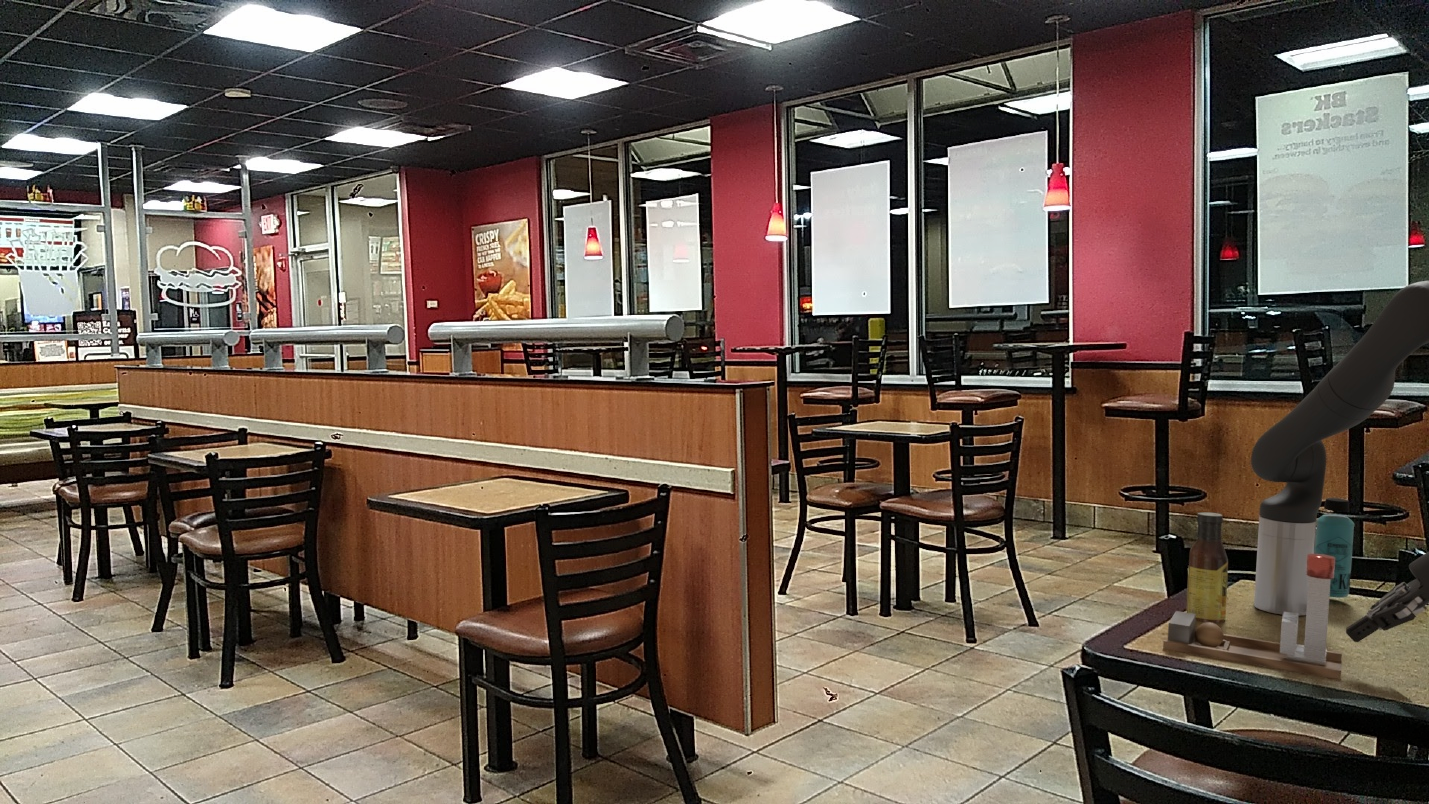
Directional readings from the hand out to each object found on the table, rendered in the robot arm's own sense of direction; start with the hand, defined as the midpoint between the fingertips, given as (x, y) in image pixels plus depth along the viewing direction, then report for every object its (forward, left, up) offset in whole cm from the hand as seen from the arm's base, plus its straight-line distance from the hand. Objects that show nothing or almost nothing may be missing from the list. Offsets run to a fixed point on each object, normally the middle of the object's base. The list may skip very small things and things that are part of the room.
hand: (1350, 636), depth 151 cm
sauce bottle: (-25, -12, -7) cm, 29 cm away
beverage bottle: (-46, +18, -7) cm, 50 cm away
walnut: (-8, -17, -5) cm, 20 cm away
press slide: (-2, -5, -5) cm, 8 cm away
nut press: (-5, -12, -7) cm, 15 cm away
